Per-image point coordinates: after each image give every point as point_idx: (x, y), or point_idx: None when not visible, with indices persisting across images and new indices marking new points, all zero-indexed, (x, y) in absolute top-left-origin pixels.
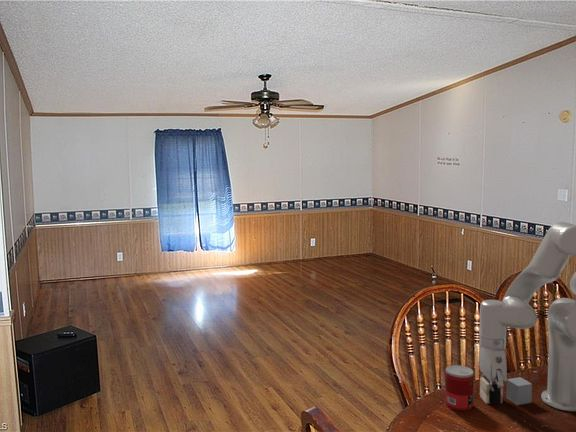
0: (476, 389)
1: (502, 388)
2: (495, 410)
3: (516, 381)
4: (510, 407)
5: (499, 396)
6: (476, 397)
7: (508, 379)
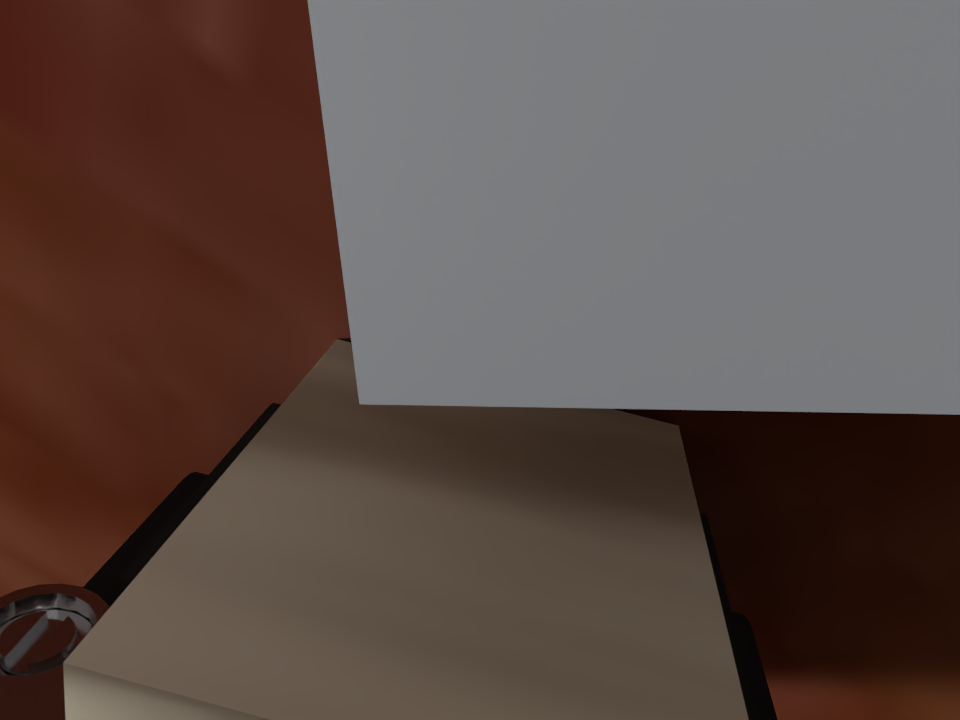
0: (53, 503)
1: (738, 705)
2: (864, 699)
3: (846, 26)
4: None
5: None
6: None
7: (402, 334)
